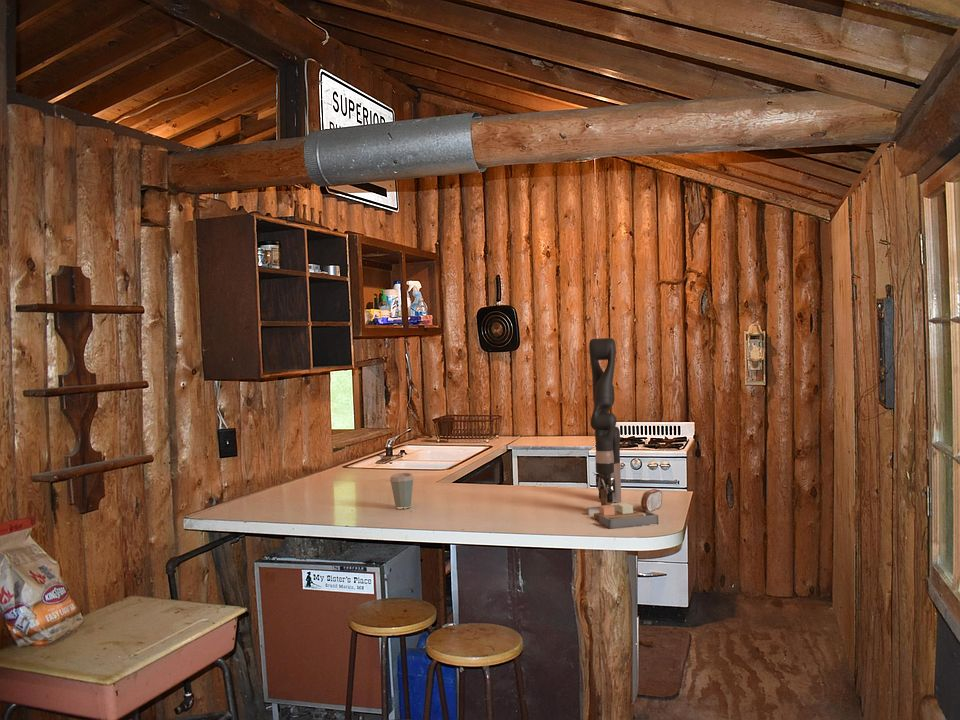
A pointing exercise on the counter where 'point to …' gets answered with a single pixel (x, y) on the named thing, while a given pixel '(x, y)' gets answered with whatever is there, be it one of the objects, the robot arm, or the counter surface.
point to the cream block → (625, 508)
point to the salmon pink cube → (606, 510)
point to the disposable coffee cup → (402, 489)
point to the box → (629, 521)
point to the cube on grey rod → (603, 502)
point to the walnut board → (618, 515)
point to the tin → (651, 500)
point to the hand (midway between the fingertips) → (605, 500)
